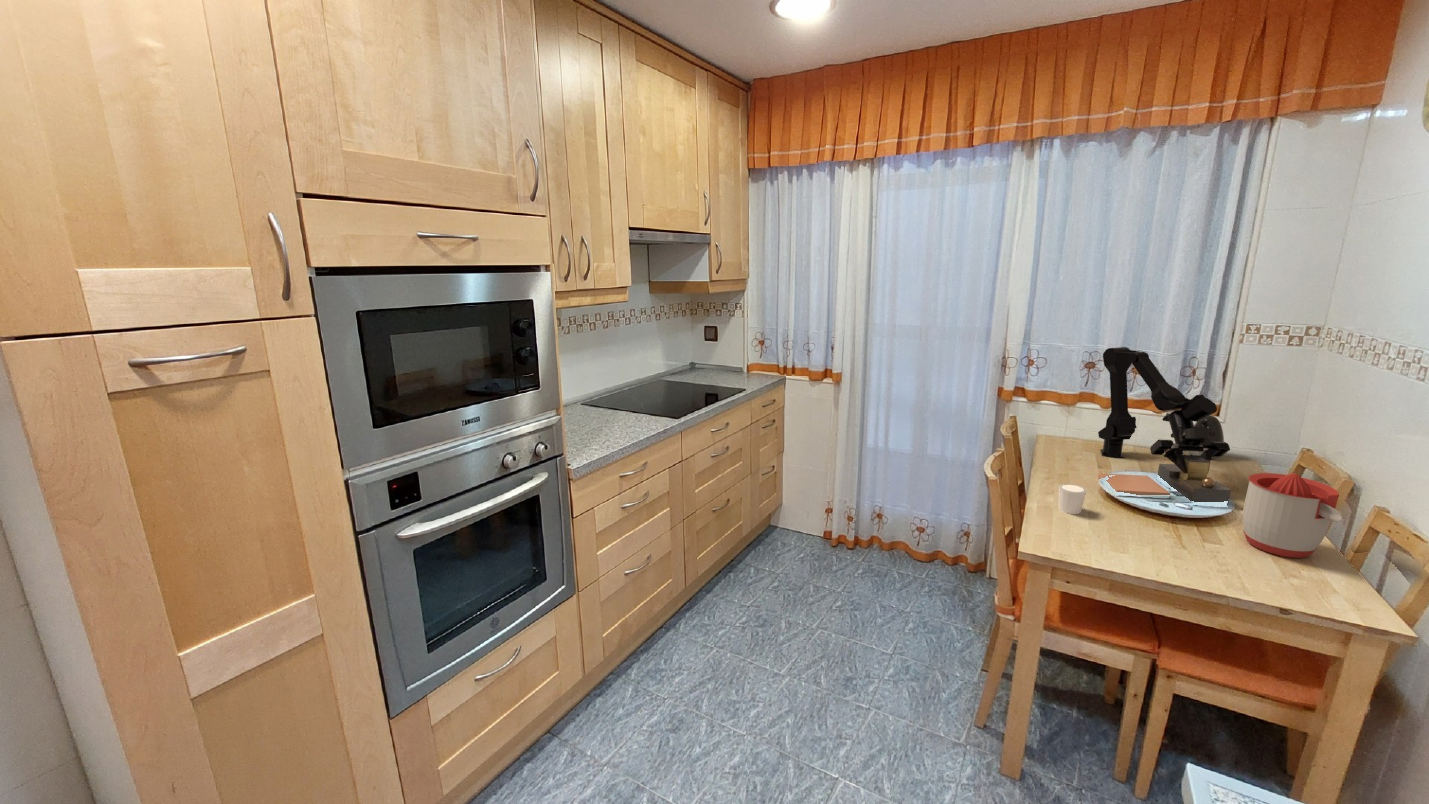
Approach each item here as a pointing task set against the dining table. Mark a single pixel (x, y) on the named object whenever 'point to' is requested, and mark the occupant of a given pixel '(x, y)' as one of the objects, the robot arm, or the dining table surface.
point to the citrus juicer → (1288, 513)
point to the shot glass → (1071, 498)
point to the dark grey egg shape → (1219, 432)
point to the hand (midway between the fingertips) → (1196, 473)
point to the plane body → (1194, 486)
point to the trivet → (1134, 484)
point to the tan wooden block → (1195, 468)
